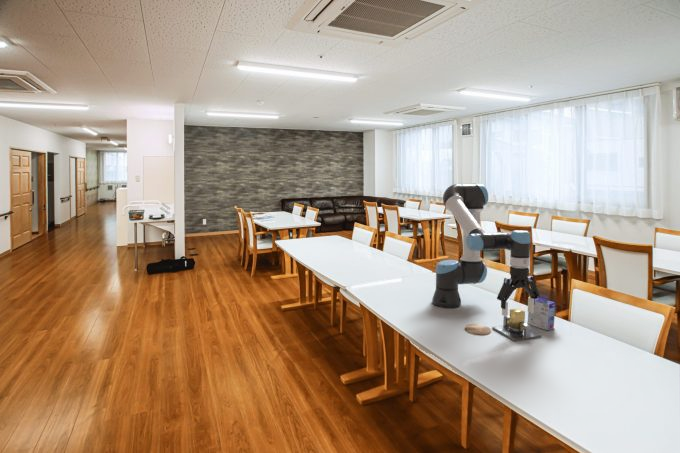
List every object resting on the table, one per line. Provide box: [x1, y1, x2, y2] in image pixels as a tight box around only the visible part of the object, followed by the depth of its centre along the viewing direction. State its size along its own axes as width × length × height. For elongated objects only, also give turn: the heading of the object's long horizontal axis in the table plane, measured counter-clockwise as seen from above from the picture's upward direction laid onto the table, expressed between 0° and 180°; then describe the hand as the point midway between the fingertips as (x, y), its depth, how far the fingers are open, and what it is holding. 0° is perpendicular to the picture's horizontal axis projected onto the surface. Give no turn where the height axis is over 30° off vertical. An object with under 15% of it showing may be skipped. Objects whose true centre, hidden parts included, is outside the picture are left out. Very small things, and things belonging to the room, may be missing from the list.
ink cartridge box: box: [526, 293, 556, 331], centre depth 175 cm, size 10×6×14 cm, turn 32°
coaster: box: [464, 323, 492, 336], centre depth 173 cm, size 11×11×1 cm
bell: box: [507, 308, 526, 331], centre depth 168 cm, size 10×6×7 cm, turn 16°
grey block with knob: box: [491, 314, 543, 342], centre depth 169 cm, size 14×14×6 cm
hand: (517, 314), depth 168 cm, fingers open, 13 cm apart
